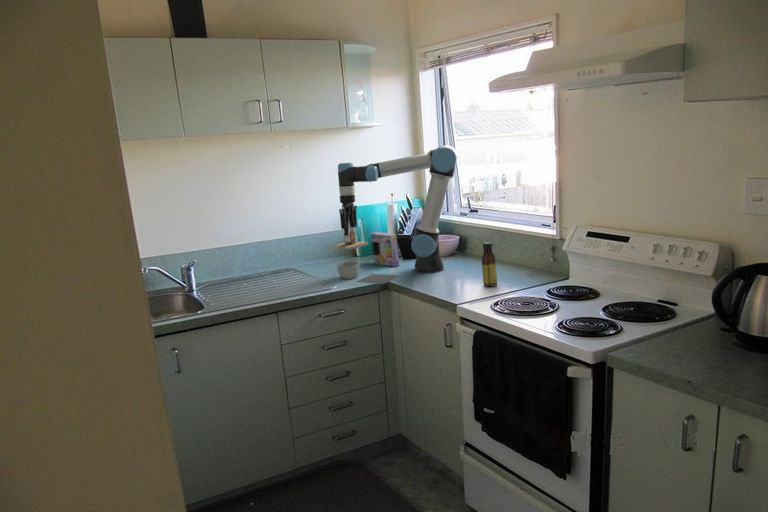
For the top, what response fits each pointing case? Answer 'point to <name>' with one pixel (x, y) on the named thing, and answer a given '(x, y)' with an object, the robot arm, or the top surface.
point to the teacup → (348, 269)
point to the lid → (350, 243)
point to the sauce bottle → (489, 265)
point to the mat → (378, 278)
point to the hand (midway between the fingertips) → (350, 240)
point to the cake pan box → (384, 248)
